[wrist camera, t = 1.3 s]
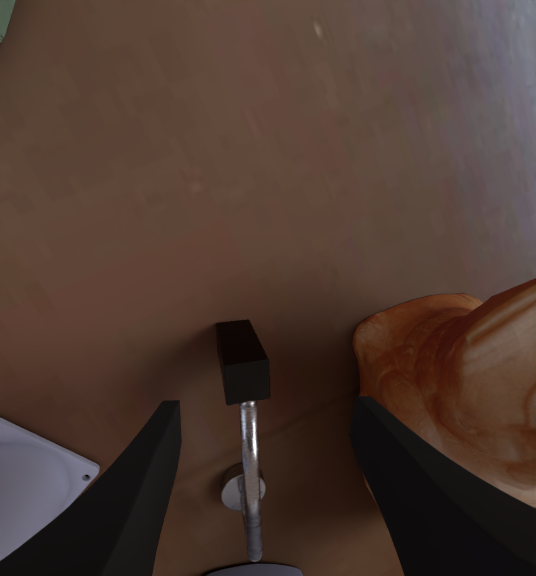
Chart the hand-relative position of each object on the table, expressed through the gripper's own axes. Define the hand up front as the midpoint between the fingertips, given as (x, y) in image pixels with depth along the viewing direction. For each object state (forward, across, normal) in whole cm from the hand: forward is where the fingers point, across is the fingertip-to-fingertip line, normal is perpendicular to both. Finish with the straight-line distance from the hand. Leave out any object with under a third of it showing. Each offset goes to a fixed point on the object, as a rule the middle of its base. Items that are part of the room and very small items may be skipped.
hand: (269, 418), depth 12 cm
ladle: (+9, +1, +8) cm, 13 cm away
